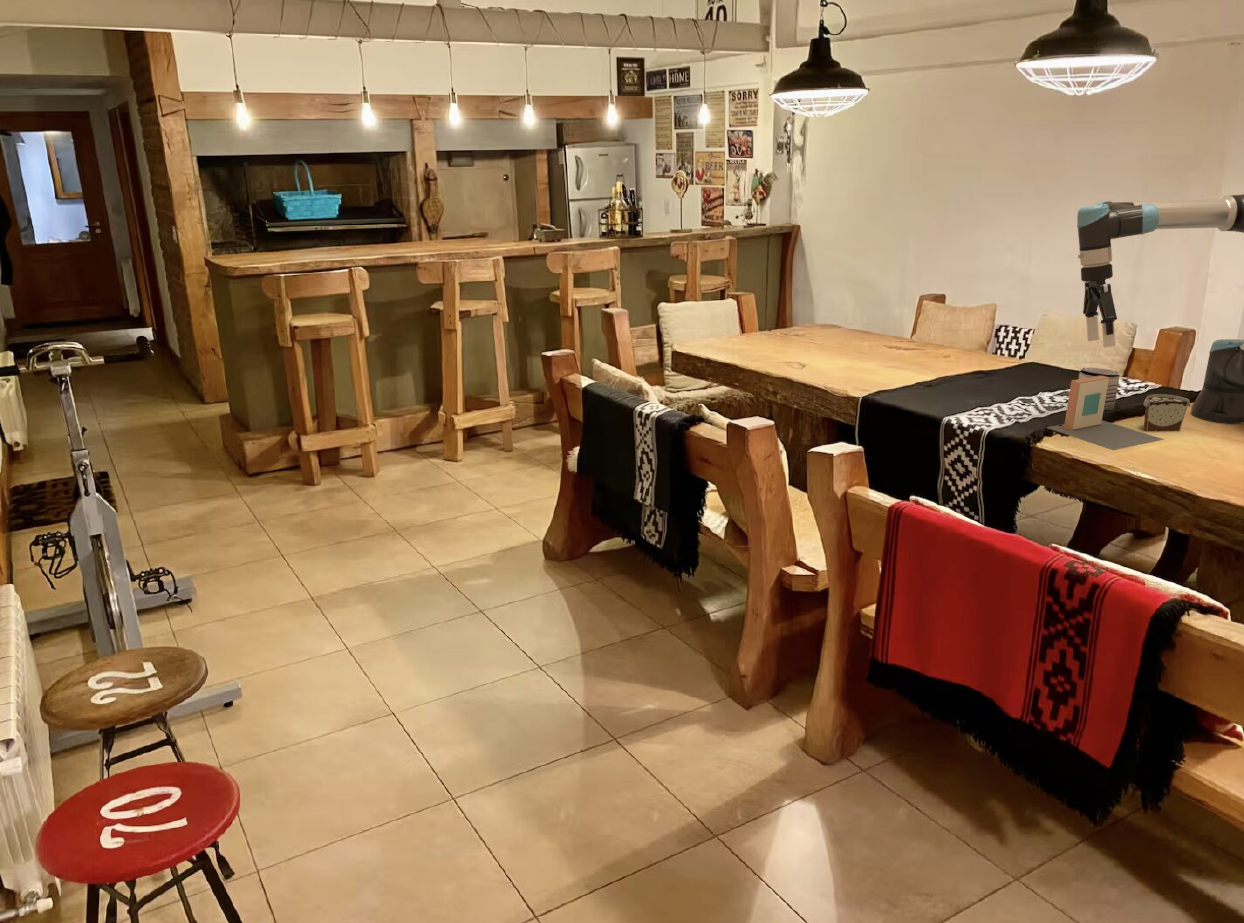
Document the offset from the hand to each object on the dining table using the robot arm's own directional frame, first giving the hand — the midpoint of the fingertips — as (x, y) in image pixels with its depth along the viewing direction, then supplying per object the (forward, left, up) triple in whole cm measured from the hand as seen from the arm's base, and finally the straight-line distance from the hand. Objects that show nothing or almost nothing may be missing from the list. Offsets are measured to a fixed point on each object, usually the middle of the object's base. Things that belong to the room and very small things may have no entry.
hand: (1101, 343), depth 253 cm
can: (-18, -25, -26) cm, 40 cm away
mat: (-4, +2, -26) cm, 26 cm away
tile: (-2, -5, -25) cm, 26 cm away
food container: (-22, -1, -26) cm, 34 cm away
